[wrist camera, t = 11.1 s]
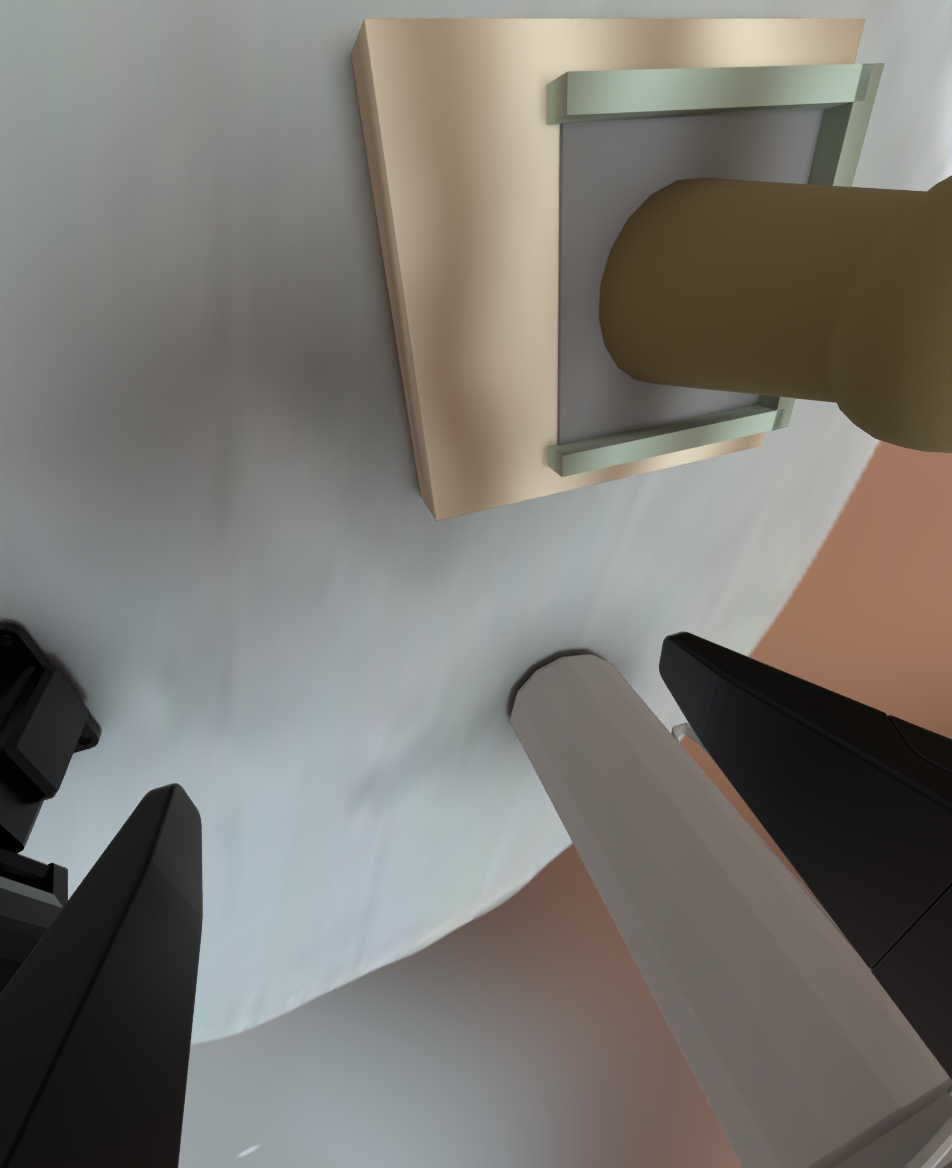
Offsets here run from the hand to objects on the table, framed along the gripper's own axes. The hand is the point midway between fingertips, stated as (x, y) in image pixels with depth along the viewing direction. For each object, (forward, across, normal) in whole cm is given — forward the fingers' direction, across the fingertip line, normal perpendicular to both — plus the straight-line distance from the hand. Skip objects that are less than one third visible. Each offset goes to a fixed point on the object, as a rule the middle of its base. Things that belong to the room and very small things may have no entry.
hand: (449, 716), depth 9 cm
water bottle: (+13, -10, +16) cm, 23 cm away
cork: (+11, -12, -5) cm, 17 cm away
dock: (+13, -10, -5) cm, 17 cm away
